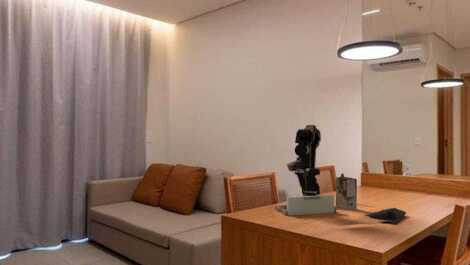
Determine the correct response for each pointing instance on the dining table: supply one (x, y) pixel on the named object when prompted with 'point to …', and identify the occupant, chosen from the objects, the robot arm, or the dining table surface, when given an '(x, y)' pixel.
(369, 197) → the dining table surface
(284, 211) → the brown shallow tray
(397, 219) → the dark slate chunk
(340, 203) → the coffee box
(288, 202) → the tailgate
